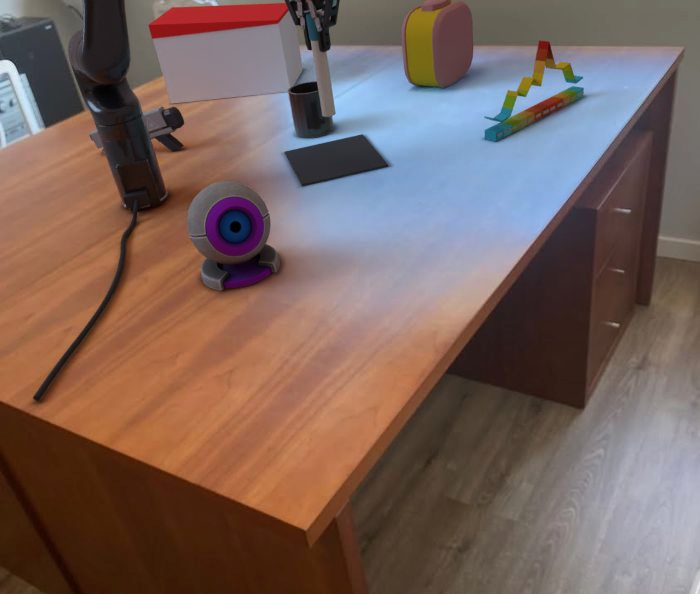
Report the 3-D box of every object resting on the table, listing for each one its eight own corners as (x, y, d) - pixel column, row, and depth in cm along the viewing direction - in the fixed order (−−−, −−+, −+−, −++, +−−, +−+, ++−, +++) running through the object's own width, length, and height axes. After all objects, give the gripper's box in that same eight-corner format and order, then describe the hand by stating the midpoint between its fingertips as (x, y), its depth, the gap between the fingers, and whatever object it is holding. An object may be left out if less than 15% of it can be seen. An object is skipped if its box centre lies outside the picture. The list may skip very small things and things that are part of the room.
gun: (192, 145, 168) (172, 104, 163) (108, 172, 178) (86, 134, 173) (197, 141, 170) (177, 100, 165) (113, 168, 180) (92, 130, 175)
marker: (337, 115, 144) (323, 13, 133) (323, 118, 144) (307, 16, 133) (334, 110, 147) (319, 10, 136) (320, 114, 146) (304, 13, 135)
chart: (496, 141, 149) (495, 66, 140) (484, 138, 151) (482, 64, 142) (584, 96, 163) (588, 25, 154) (572, 94, 165) (575, 24, 156)
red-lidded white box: (190, 81, 219) (171, 7, 207) (302, 69, 214) (290, -8, 201) (169, 104, 203) (147, 25, 191) (290, 91, 197) (275, 9, 185)
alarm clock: (440, 69, 195) (435, -10, 184) (476, 71, 189) (474, -10, 178) (403, 91, 184) (396, 9, 172) (441, 94, 178) (436, 9, 166)
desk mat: (388, 166, 146) (388, 164, 146) (302, 186, 144) (301, 184, 144) (362, 135, 162) (362, 134, 162) (284, 153, 160) (284, 151, 160)
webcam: (213, 299, 113) (187, 211, 104) (194, 265, 123) (169, 183, 114) (290, 273, 116) (271, 186, 107) (265, 242, 126) (247, 160, 117)
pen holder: (337, 132, 166) (331, 88, 160) (299, 141, 165) (291, 97, 159) (329, 121, 173) (322, 78, 167) (292, 129, 172) (284, 86, 166)
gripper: (262, -47, 131) (280, 52, 141) (314, -48, 122) (329, 59, 132) (293, -56, 134) (309, 41, 144) (345, -57, 125) (358, 47, 136)
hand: (319, 49), depth 138 cm, fingers closed on marker, 3 cm apart
